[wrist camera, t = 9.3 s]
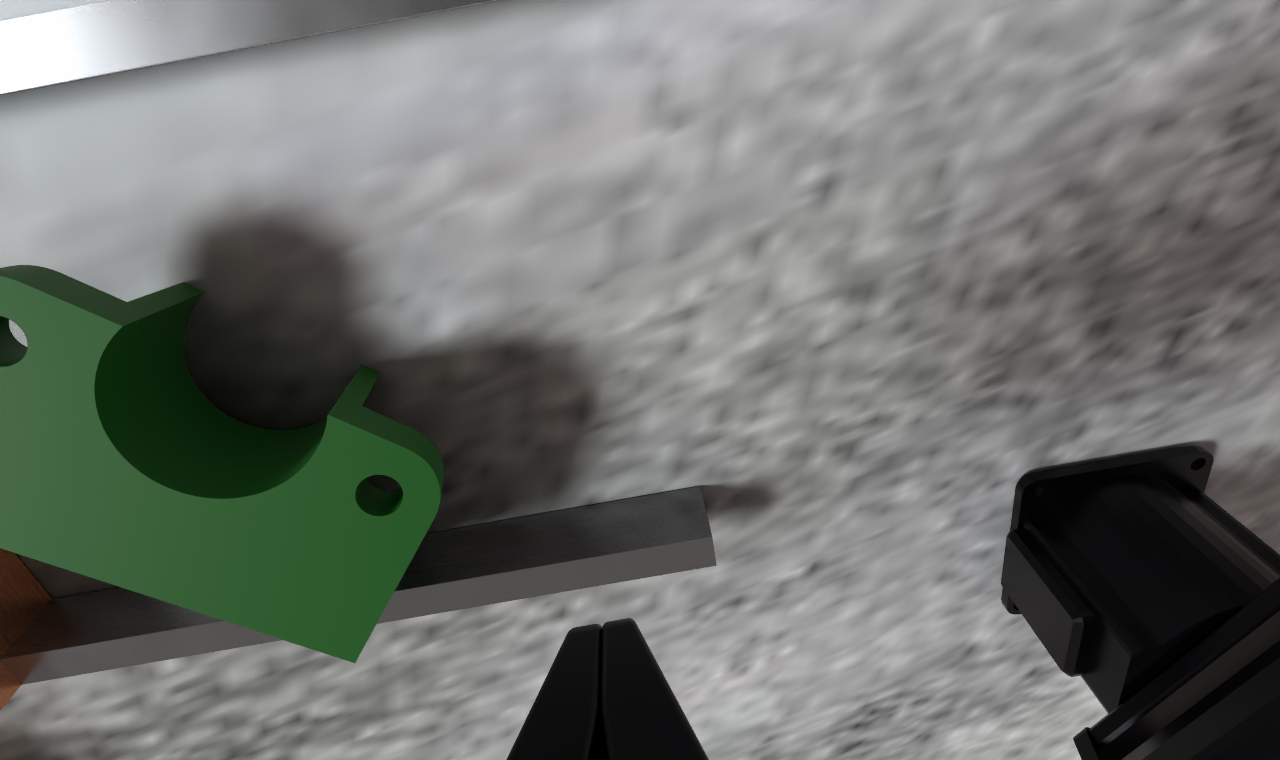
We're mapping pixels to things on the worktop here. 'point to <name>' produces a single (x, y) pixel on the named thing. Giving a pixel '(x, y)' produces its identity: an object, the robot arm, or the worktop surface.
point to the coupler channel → (446, 560)
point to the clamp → (196, 473)
